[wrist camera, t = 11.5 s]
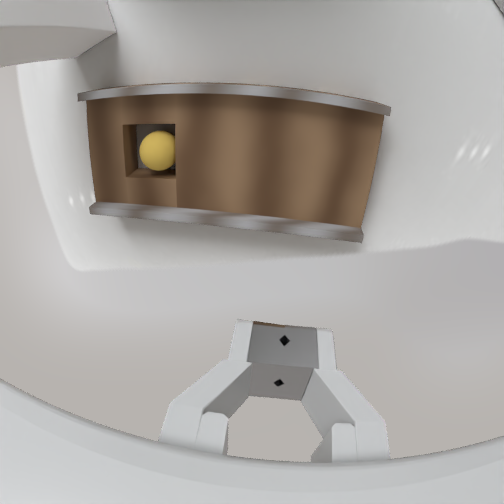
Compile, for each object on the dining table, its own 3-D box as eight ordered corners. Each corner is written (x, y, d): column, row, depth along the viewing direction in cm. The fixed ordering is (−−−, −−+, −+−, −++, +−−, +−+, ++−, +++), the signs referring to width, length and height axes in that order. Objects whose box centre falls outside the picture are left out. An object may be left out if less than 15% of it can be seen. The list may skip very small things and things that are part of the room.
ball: (174, 134, 25) (132, 136, 25) (175, 176, 28) (135, 176, 27) (183, 126, 29) (145, 127, 29) (183, 163, 31) (147, 164, 31)
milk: (104, -9, 20) (-67, -31, 2) (117, 32, 23) (-70, 35, 5) (63, 20, 22) (-103, 34, 3) (75, 60, 25) (-100, 98, 6)
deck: (376, 102, 25) (391, 107, 21) (353, 221, 32) (361, 242, 28) (101, 88, 27) (77, 93, 23) (109, 197, 34) (90, 214, 30)
